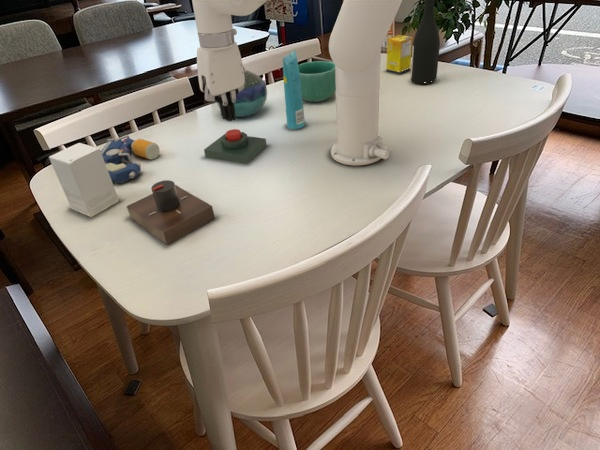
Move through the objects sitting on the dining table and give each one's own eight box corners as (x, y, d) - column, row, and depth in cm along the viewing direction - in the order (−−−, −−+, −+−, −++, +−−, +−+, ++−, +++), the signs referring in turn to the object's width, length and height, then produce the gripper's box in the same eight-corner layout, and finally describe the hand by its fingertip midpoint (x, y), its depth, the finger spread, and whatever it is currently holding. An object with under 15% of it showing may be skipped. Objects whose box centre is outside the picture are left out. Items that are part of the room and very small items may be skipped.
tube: (292, 120, 128) (285, 49, 117) (308, 121, 126) (303, 49, 115) (283, 131, 122) (275, 58, 111) (300, 132, 121) (294, 58, 109)
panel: (215, 218, 90) (212, 205, 88) (167, 245, 84) (163, 231, 82) (176, 195, 98) (173, 182, 97) (130, 218, 92) (126, 205, 91)
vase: (212, 110, 139) (203, 66, 131) (259, 99, 143) (254, 56, 136) (225, 127, 127) (217, 79, 119) (276, 115, 131) (271, 69, 124)
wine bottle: (405, 82, 146) (411, -23, 129) (421, 75, 150) (429, -27, 133) (424, 87, 141) (434, -21, 124) (441, 81, 145) (452, -26, 127)
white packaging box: (120, 201, 98) (101, 148, 91) (90, 218, 93) (68, 163, 86) (99, 193, 102) (79, 141, 95) (70, 209, 97) (46, 156, 90)
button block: (266, 146, 115) (264, 131, 113) (247, 164, 108) (244, 149, 106) (226, 140, 120) (224, 126, 117) (205, 157, 112) (202, 142, 110)
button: (244, 136, 112) (243, 129, 111) (236, 142, 110) (235, 135, 109) (231, 134, 114) (230, 128, 113) (224, 140, 111) (222, 134, 110)
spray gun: (168, 143, 121) (113, 148, 122) (163, 128, 118) (108, 133, 119) (146, 185, 104) (82, 189, 105) (140, 169, 101) (75, 174, 102)
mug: (319, 108, 133) (317, 76, 128) (288, 100, 140) (285, 70, 135) (352, 91, 143) (352, 60, 138) (321, 85, 150) (320, 55, 145)
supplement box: (397, 67, 160) (398, 34, 153) (410, 70, 156) (412, 36, 149) (385, 71, 157) (386, 38, 150) (399, 74, 153) (401, 40, 146)
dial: (172, 197, 92) (166, 176, 89) (184, 204, 89) (178, 183, 87) (153, 206, 89) (146, 185, 87) (165, 214, 87) (158, 193, 84)
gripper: (232, 29, 105) (243, 106, 115) (177, 44, 96) (194, 125, 107) (254, 33, 100) (262, 113, 111) (198, 49, 92) (213, 133, 103)
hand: (229, 119), depth 109 cm, fingers closed
